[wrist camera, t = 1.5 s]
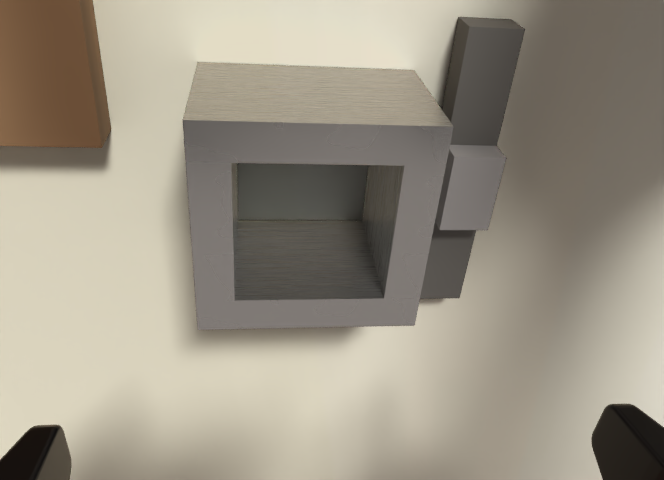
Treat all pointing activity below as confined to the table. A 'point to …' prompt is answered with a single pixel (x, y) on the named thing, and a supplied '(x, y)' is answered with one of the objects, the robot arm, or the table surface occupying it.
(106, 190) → the table surface
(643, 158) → the table surface
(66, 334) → the table surface
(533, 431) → the table surface
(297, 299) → the end link
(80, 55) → the wooden peg board
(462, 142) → the grey long bar
